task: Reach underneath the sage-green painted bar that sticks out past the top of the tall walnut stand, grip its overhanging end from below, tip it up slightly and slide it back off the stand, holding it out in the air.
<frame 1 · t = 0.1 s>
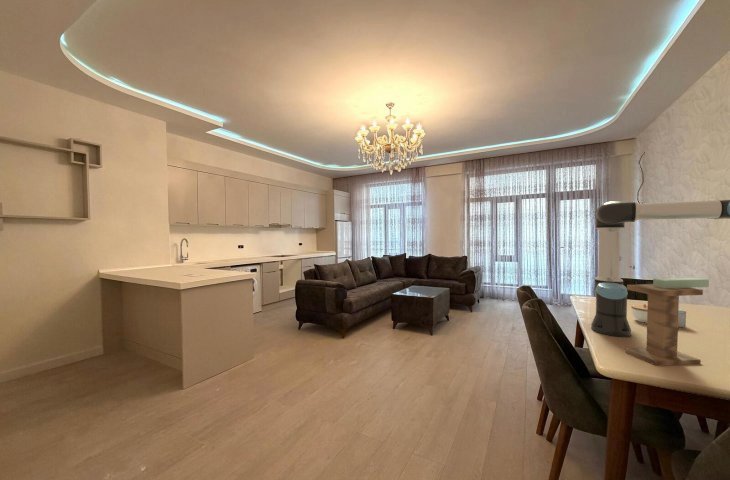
walnut stand: (661, 357, 115), on the table
sage bar: (680, 286, 114), point 28 cm above the table, touching walnut stand
lidded jar: (644, 321, 160), on the table
medicine box: (673, 325, 153), on the table
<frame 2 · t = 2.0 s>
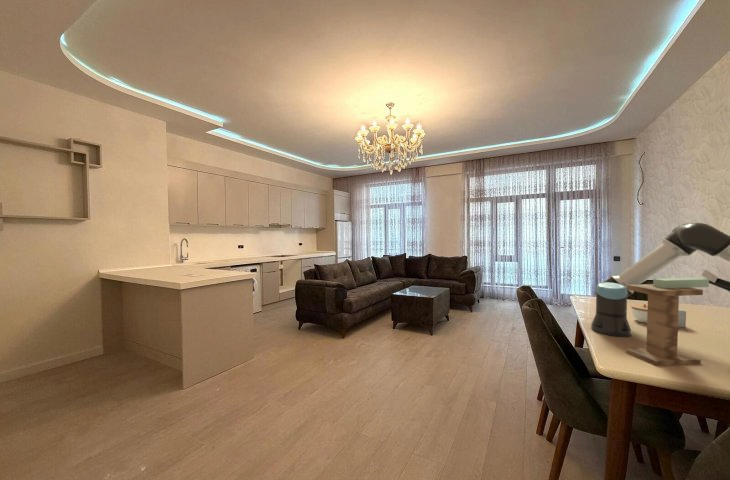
hand: (724, 274, 118), 32 cm above the table, tool pointing upward, fingers open, 13 cm apart
nothing on the table moved.
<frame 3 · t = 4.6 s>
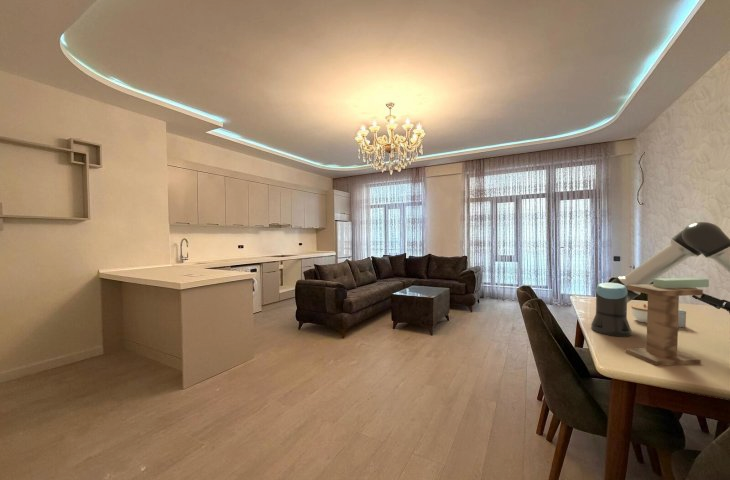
hand: (709, 290, 115), 26 cm above the table, tool pointing upward, fingers open, 13 cm apart
nothing on the table moved.
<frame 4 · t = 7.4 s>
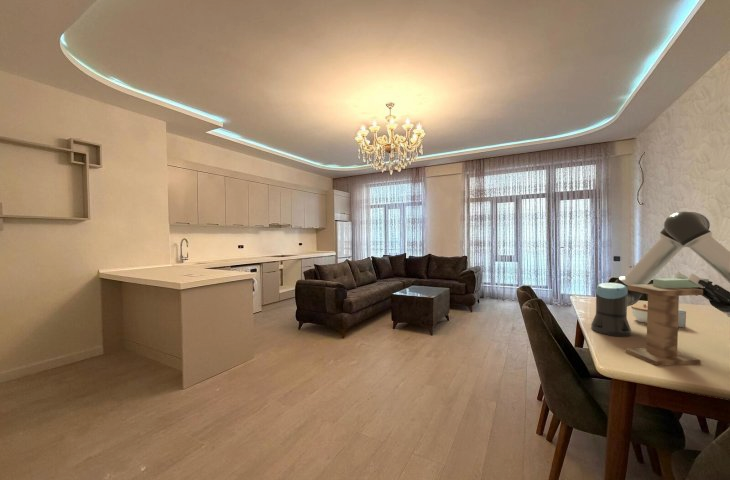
hand: (683, 276, 114), 32 cm above the table, tool pointing upward, fingers closed on sage bar, 4 cm apart
sage bar: (680, 286, 114), point 28 cm above the table, touching gripper, walnut stand
everything else where it was.
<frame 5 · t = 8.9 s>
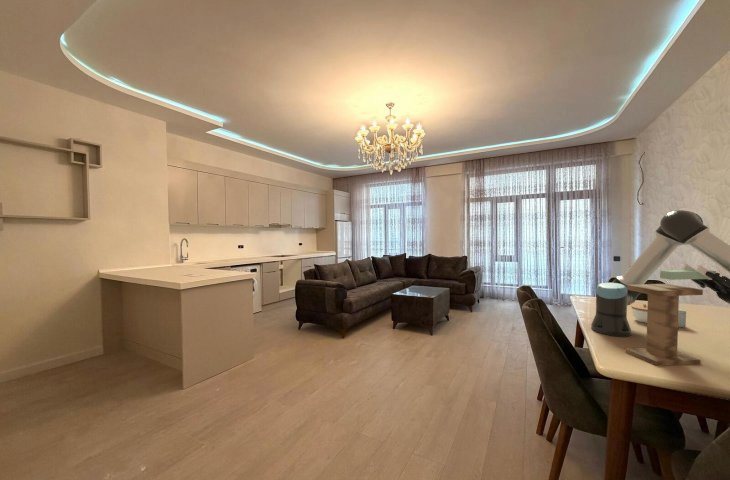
hand: (691, 267, 114), 35 cm above the table, tool pointing upward, fingers closed on sage bar, 4 cm apart
sage bar: (687, 278, 114), point 31 cm above the table, touching gripper
everything else where it was.
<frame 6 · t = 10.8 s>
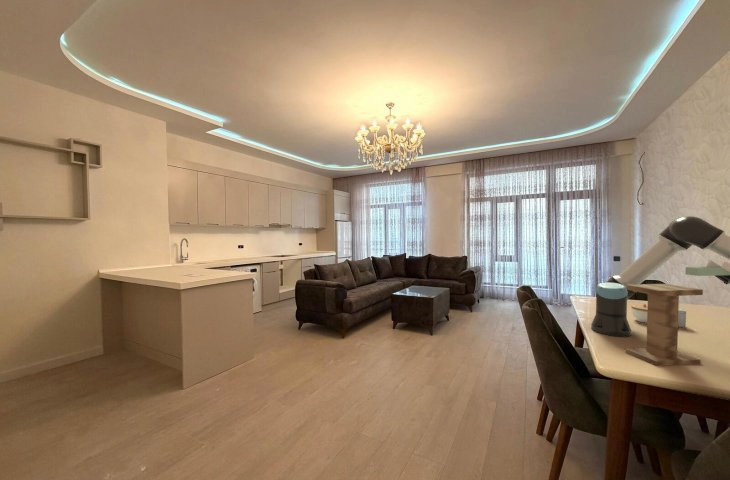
hand: (716, 264, 115), 37 cm above the table, tool pointing upward, fingers closed on sage bar, 4 cm apart
sage bar: (712, 274, 115), point 32 cm above the table, touching gripper
everything else where it was.
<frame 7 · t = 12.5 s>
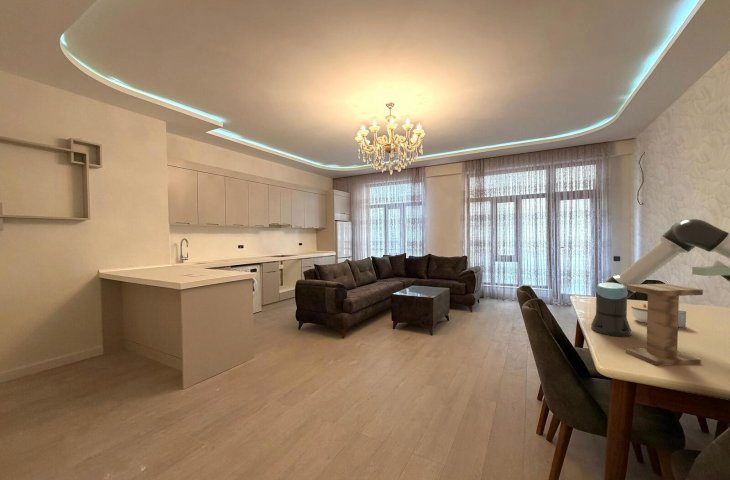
hand: (723, 264, 115), 37 cm above the table, tool pointing upward, fingers closed on sage bar, 4 cm apart
sage bar: (719, 274, 116), point 32 cm above the table, touching gripper
everything else where it was.
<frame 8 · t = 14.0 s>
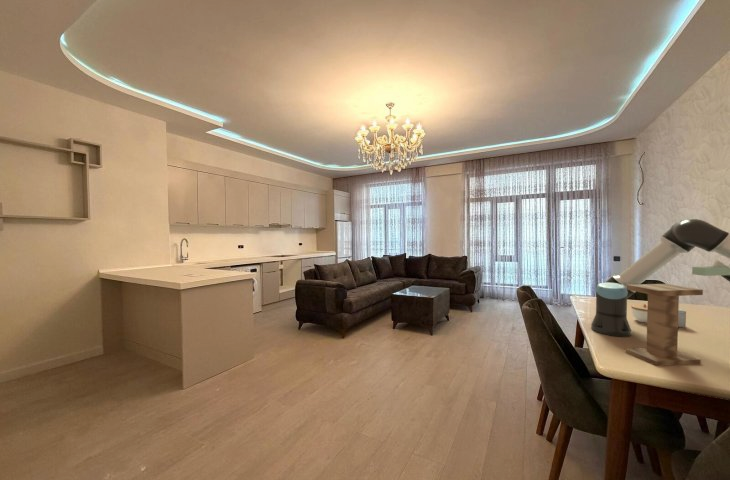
hand: (723, 264, 115), 37 cm above the table, tool pointing upward, fingers closed on sage bar, 4 cm apart
sage bar: (719, 274, 116), point 32 cm above the table, touching gripper
everything else where it was.
at the end: the gripper is holding sage bar; sage bar touching gripper; sage bar moved 17.6 cm from its start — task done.
